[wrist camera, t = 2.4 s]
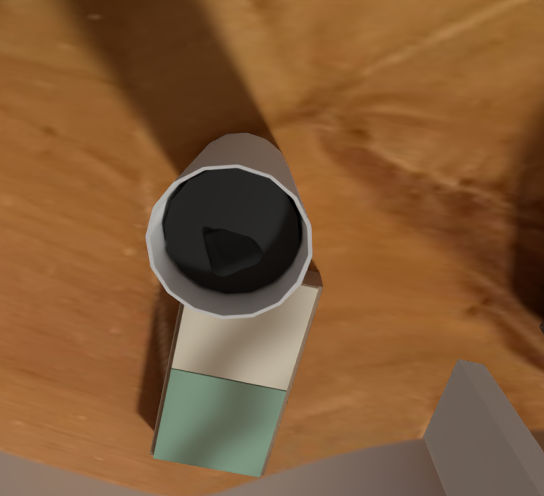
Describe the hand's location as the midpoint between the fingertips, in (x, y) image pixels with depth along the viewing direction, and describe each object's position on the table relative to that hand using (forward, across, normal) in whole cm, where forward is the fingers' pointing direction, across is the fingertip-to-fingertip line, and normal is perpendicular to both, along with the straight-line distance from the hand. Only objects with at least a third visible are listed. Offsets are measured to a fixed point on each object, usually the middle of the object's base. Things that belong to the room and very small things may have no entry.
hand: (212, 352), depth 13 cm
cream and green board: (+17, +2, -12) cm, 21 cm away
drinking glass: (+17, 0, 0) cm, 17 cm away
